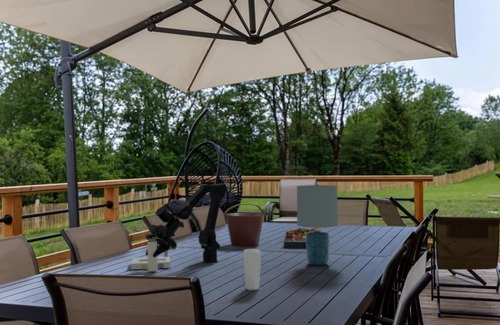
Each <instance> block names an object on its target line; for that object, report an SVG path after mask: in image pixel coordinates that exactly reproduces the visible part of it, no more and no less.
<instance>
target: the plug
mask: <svg viewBox="0 0 500 325" xmlns="http://www.w3.org/2000/svg"><path fill="white" fill-rule="evenodd" d="M157 246H158V245H157V241H156V239H149V241H148V240H147V249H148V256H147V258H148V269H147V272H157V271H158V269H157V257H158V256H156V257H153V254H154V252H155V251H156V249H157Z"/></svg>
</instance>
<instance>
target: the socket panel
mask: <svg viewBox="0 0 500 325" xmlns="http://www.w3.org/2000/svg"><path fill="white" fill-rule="evenodd" d="M158 268H168V269H171V256H168V257H164V256H157V270H159V269H158ZM131 269H146V270H148V257H132V260H131V263H130V270H131Z"/></svg>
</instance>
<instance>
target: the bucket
mask: <svg viewBox="0 0 500 325" xmlns="http://www.w3.org/2000/svg"><path fill="white" fill-rule="evenodd" d="M239 206H254V207H257V208H258V210H259V211H260V213H259V212H231V213H228V212H229V211H230V210H232V209H233V208H236V207H239ZM265 213H266V211H265V210H264V209H263V208H261V206H260V205H259V204H253V203H238V204H235V205H232V206H231V207H229V208H227V210H225V211H224V216H225V217H226V218H225V219H226V224H227V229H228V234H229V239H230V240H229V241H230V245H231V246H232V247H237V248H248V247H250V248H251V247H256V246H258V245H259V243H260V238H261V231H262V229H263V228H262V227H263V222H264V214H265Z"/></svg>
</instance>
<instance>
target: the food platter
mask: <svg viewBox="0 0 500 325" xmlns="http://www.w3.org/2000/svg"><path fill="white" fill-rule="evenodd" d="M311 231H315V228H311V229H310V228H302V227H298V228H295V229H291V230H285V235H284V239H283V249H306V233H307V232H311Z"/></svg>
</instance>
